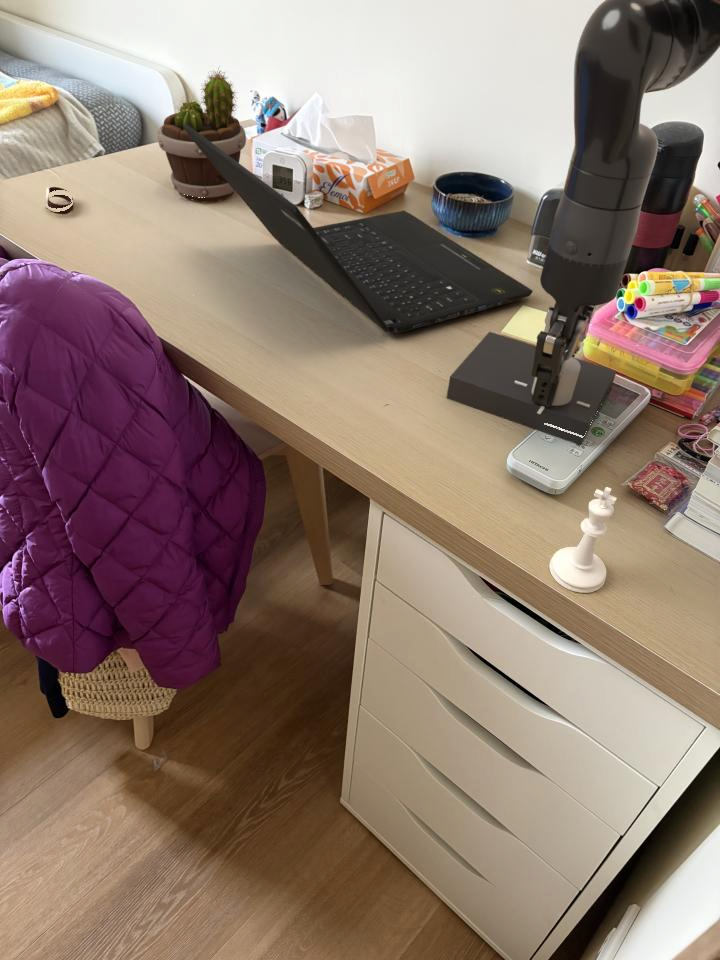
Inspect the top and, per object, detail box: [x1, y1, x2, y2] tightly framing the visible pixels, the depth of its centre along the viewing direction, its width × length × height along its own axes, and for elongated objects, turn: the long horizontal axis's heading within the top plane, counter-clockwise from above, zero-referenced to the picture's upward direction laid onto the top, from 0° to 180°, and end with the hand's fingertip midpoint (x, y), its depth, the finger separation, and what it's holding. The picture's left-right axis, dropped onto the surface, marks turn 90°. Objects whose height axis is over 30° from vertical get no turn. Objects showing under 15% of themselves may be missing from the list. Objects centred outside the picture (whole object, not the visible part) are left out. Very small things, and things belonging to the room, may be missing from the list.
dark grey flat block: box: [446, 331, 618, 446], centre depth 83 cm, size 16×13×3 cm
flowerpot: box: [156, 65, 247, 203], centre depth 120 cm, size 14×15×20 cm
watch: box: [44, 186, 74, 215], centre depth 117 cm, size 8×5×4 cm, turn 17°
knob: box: [532, 357, 581, 406], centre depth 78 cm, size 4×4×4 cm
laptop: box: [184, 124, 533, 334], centre depth 97 cm, size 33×38×19 cm
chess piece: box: [549, 486, 618, 594], centre depth 60 cm, size 5×5×10 cm
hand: (549, 391), depth 79 cm, fingers closed on knob, 4 cm apart
